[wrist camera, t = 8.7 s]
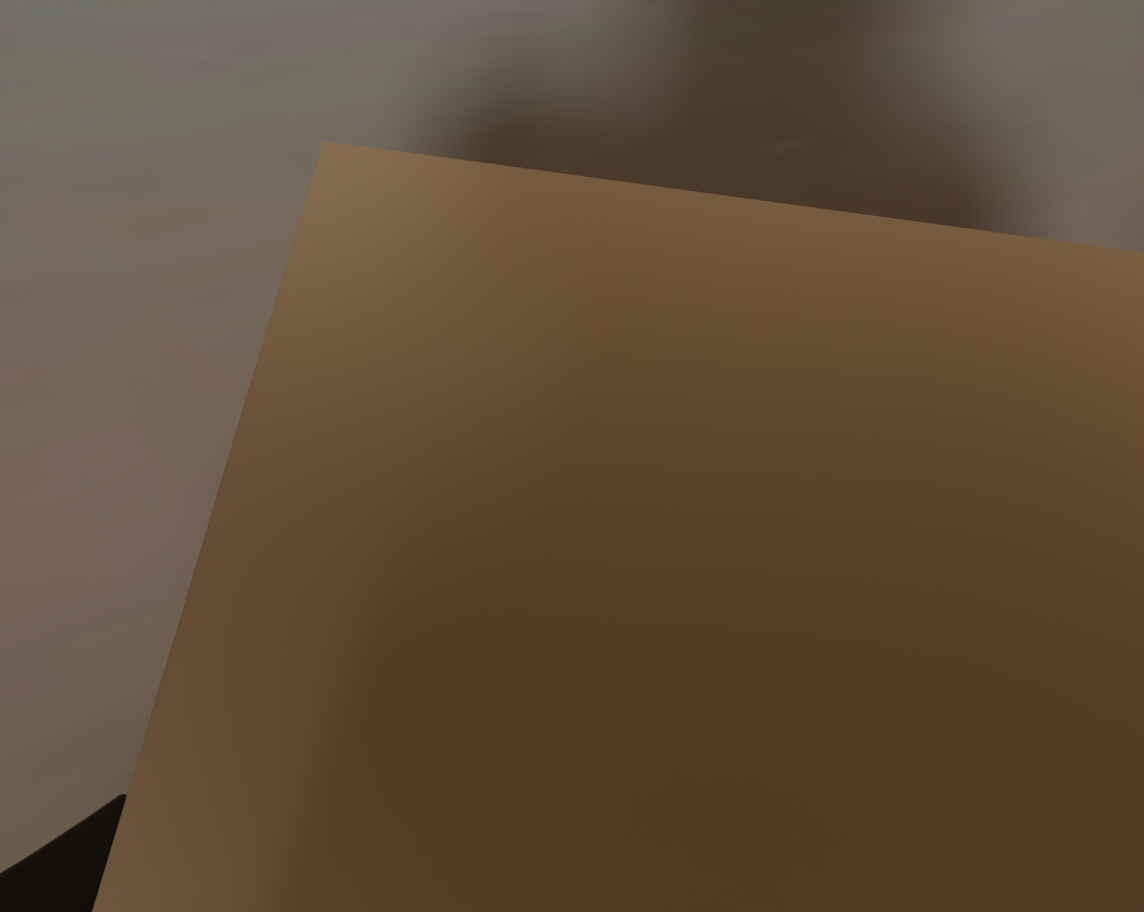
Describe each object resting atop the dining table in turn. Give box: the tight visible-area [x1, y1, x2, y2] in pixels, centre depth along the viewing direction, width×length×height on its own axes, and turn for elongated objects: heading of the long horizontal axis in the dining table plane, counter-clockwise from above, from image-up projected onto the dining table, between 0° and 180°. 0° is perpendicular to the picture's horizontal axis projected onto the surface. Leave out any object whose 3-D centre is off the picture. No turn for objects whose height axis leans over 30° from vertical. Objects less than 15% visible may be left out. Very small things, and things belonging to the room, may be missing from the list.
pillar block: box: [92, 141, 1144, 912], centre depth 9 cm, size 5×5×13 cm
